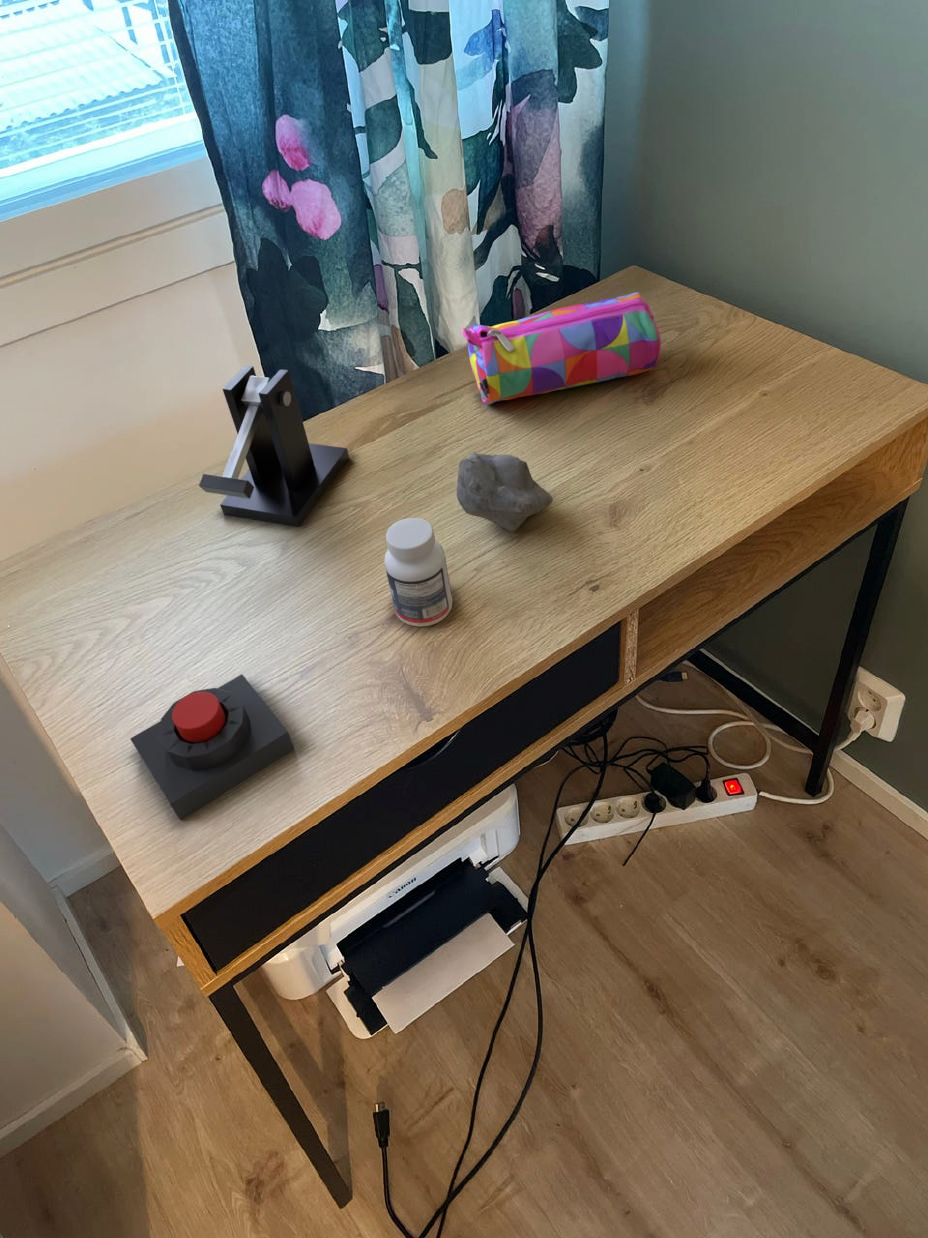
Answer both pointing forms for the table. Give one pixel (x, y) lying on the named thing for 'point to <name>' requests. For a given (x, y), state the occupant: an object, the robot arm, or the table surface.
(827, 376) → the table surface
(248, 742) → the button box
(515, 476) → the fossil
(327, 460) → the black lever stand
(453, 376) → the table surface
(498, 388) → the pencil case
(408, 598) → the pill bottle
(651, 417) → the table surface
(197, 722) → the button
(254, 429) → the lever
